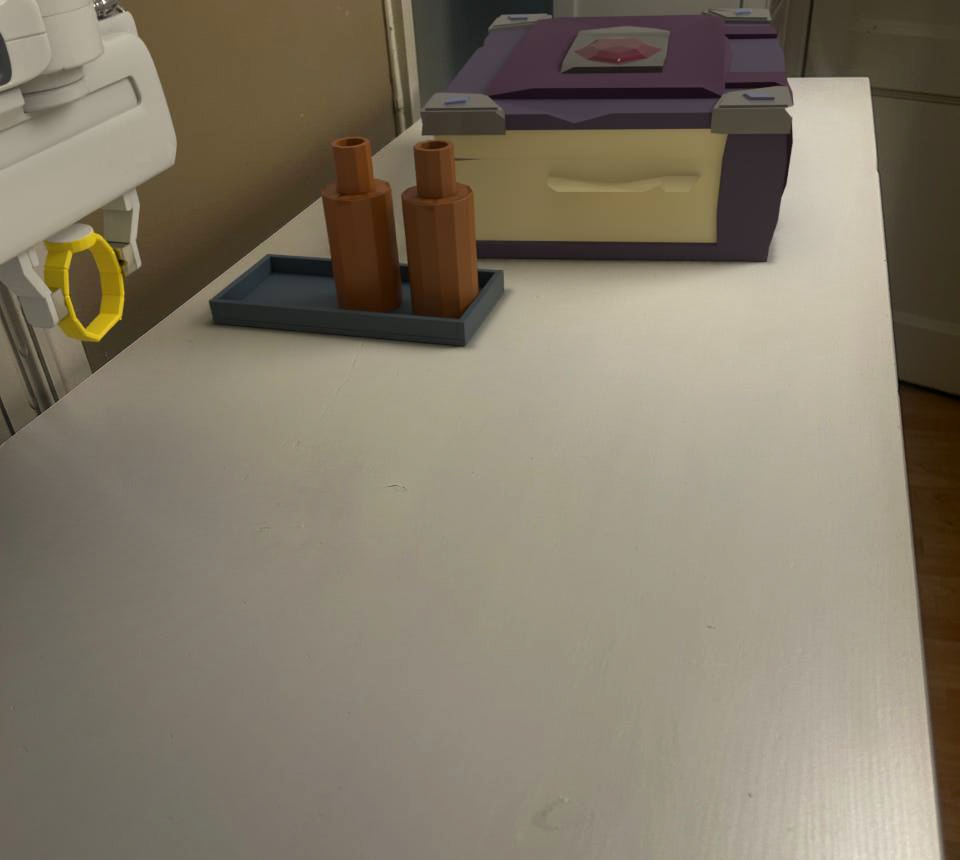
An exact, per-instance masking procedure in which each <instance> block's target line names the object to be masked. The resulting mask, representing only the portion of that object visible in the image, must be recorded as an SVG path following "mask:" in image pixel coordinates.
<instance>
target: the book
mask: <svg viewBox="0 0 960 860" xmlns="http://www.w3.org/2000/svg"><path fill="white" fill-rule="evenodd" d="M772 22H773V21H772V17H771V13H770V9H768V8H767V9H766V8H763V7H762V8H761V7H759V8H757V7H755V8H753V7H747V8H745V7H743V8H741V7H740V8H726V7H725V8H719V7H718V8H716V7H715V8H708V10H701V14H664V15H663V14H662V15H661V14H660V15H658V14H657V15H619V16H618V15H615V16H614V15H613V16H612V15H611V16H609V15H608V16H563V17H562V16H561V17H558V16H557V17H553V15H552V14H548V13H521V14H520V13H519V14H518V13H517V14H515V13H514V14H501V15H500V16H499V17H496V18H495V19H494V21H493V22H492V23H491V25H490V26H489V27H488V29H487V32H488V33H487V36H486V37H485V38H484V40H483V43H482V46H481V47H478V48H477V49H476V50H475V52H473V53H472V55H471V56H470V57H469V59H468V60H467V62H466V63H465V64H464V65H463V66H462V68H461V69H460V70H459V72H458V73H457V74H456V76H455V77H454V78H453V79H452V81H451V82H450V83H449V84H448V86H447V87H446V88H445V89H444V91H443V92H439V91H438V92H436V93H434V94H433V95H432V96H431V97H430V99H429V100H428V101H427V102H426V103H425V104H424V106H423V107H422V108H421V109H420V111H419V114H420V119H421V124H422V125H421V136H426V137H428V136H433V140H439V139H440V140H447V141H451V142H452V143H453V144H454V158H455V174H456V182H457V183H461V184H464V185H468V186H470V188H471V189H472V191H473V196H474V215H475V234H476V254H477V258H481V259H482V258H483V259H484V258H485V259H488V258H489V259H492V258H493V259H558V260H559V259H560V260H561V259H562V260H564V259H565V260H567V259H568V260H569V259H571V260H629V261H630V260H632V261H633V260H635V261H636V260H637V261H638V260H640V261H641V260H643V261H709V262H710V261H711V262H713V261H714V262H716V261H717V262H768V259H769V251H770V246H771V243H772V240H773V237H774V234H775V231H776V228H777V225H778V222H779V218H780V211H781V203H782V198H783V195H784V193H785V190H786V187H787V184H788V177H789V171H790V164H791V157H792V151H793V144H794V135H793V134H794V133H793V132H794V131H793V118H794V105H795V102H794V93H793V92H794V91H793V90H792V87H791V86H790V83H789V80H788V71H786V62H785V53H784V51H783V49H782V46H781V45H780V42H779V41H778V39H777V37H778V32H777V30H776V28H775V26H773V25H772Z"/></svg>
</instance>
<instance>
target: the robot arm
mask: <svg viewBox="0 0 960 860" xmlns="http://www.w3.org/2000/svg"><path fill="white" fill-rule="evenodd" d="M138 33H139V32H138V29H137V25H136V22H135V19H134V17H133V14H132V13H131V12H130V11H127V9H126V8H125V6H124V5H123V4H122V3H121V2H120V1H118V0H0V282H1V283H2V284H3V285H4V286H5V287H6V288H7V289H9V291H10V292H11V293H13V295H14V296H16V297H18V300H19V303H20V306H21V308H22V310H23V313H24V316H25V319H26V322H27V323H28V324H29V325H30V326H32V327H34V328H40V329H47V330H49V329H50V330H51V329H53V328H54V327H56V326H58V325H57V324H59V323H60V322H61V321H63V320H64V319H66V318H67V317H68V315H69V311H68V308H67V307H66V306H65V298H64V295H63V292H62V289H61V288H55V287H47V286H46V285H45V283H44V280H43V279H42V278H41V277H40V275H38V273H37V272H36V271H35V270H34V269H35V268H36V267H39V266H40V261H39V257H38V254H37V251H36V248H35V246H38V245H39V244H40V243H43V241H44V240H45V239H47V238H49V237H51V236H52V235H54V234H56V233H58V232H59V231H61V230H63V229H65V228H66V227H68V226H70V225H71V224H76V223H77V222H78V221H81V220H82V219H84V218H85V217H88V215H90V214H92V213H95V212H96V211H98V210H102V216H103V217H102V219H103V221H102V222H103V238H104V239H105V241H106V242H107V243H108V244H109V245H110V246H111V248H112V249H113V251H114V252H115V255H116V257H117V260H118V263H119V265H120V268H121V273H122V276H123V278H128V277H129V276H130V275H131V274H133V273H134V272H136V271H137V270H138V269H140V268H141V267H142V259H141V255H140V252H139V248H138V244H137V237H138V229H139V228H138V227H139V220H140V208H141V204H140V200H139V196H138V191H137V187H139V186H141V185H142V184H145V183H146V182H148V181H149V180H152V179H153V178H155V177H157V176H159V175H160V174H161V173H163V172H166V171H167V170H169V169H170V168H172V167H173V166H174V165H175V164H176V163H175V162H176V159H177V157H176V156H177V148H178V147H177V146H178V141H177V135H176V131H175V128H174V123H173V120H172V116H171V113H170V109H169V106H168V102H167V98H166V96H165V92H164V89H163V85H162V82H161V80H160V77H159V74H158V70H157V68H156V65H155V62H154V59H153V58H152V54H151V53H150V51H149V49H148V47H147V45H146V44H145V42H144V41H143V40H142V38H141V37H139V34H138Z"/></svg>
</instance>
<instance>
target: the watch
mask: <svg viewBox="0 0 960 860" xmlns="http://www.w3.org/2000/svg"><path fill="white" fill-rule="evenodd" d="M42 243H43V245H44V248H45V249H46V251H47V254H46V258H45V262H44V264H43V265H44V266H43V268H44V269H43V282H44V283H45V285H46V286H47V287H55V288H61V289H62V292H63V295H64V298H65V306H66V307H67V308H68V311H69V315H68V317H67V318H66V319H64V320H63V321H61V322H60V323H59V324H57V325H56V326H58V327H59V329H60V330H61V331H62V332H63V334H64V335H65V336H67V337H68V338H71V339H73V340H76V341H80V342H90V343H91V342H93V343H99V342H100V341H101V340H102V339H103V338H104V336H106V335H107V333H108V332H109V331H110V330H111V329H112V328H113V327H114V326H115V325H116V324H117V323H118V322H119V321H122V319H123V318H122V317H123V310H124V305H125V287H124V286H125V285H124V277H123V276H122V273H121V268H120V265H119V263H118V260H117V257H116V255H115V252H114V251H113V249H112V248H111V246H110V245H109V244H108V243H107V242H106V241H105V239H104V236H102V235H100V234H99V233H96V232H95V231H94V228H93V227H92V226H91V225H89V224H86V223H80V222H79V223H77V222H76V223H73V224H71V225H70V226H68V227H66V228H65V229H63V230H61V231H59V232H58V233H56V234H54V235H52V236H51V237H49V238H47V239H45V240H44V241H42ZM85 250H89V251H90V252H91V254H92V257H93V260H94V261H95V264H96V267H97V269H98V273H99V278H100V287H101V294H102V295H101V299H100V300H101V301H100V307H99V314H98V315H97V316H96V317H95V318H94V319H93V320H92V321H91V322H90V323H89V324H88V325H87V326H86V328H85V327H84V326H83V324H82V322H80V320H79V319H78V318H77V316H76V312H75V309H74V306H73V302H72V300H71V296H70V281H69V280H70V278H69V270H70V266H71V261H72V258H73V254H76V253H80V252H83V251H85Z"/></svg>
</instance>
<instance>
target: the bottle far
mask: <svg viewBox="0 0 960 860" xmlns="http://www.w3.org/2000/svg"><path fill="white" fill-rule="evenodd" d="M412 150H413V160H414V173H415V183H416V185H414V186H410V187H407V188H406V189H405V190H404V191H403V192H402V193H401V194H400V200H401V211H402V219H403V230H404V240H405V250H406V260H407V261H406V262H407V264H408V272H409V282H410V292H411V302H412V310H413V313H414V315H415V316H426V317H438V318H450V319H460V318H461V317H462V315H463V314H464V313H465V311H466V310H467V309H468V307H469V306H470V305H471V304H472V302H473V301H474V300H475V298H476V297H477V296H478V294H479V292H478V273H477V268H478V257H477V254H476V234H475V215H474V196H473V191H472V189H471V188H470V186H468V185H464V184H461V183H457V182H456V174H455V158H454V144H453V143H452V142H451V141H447V140H440V139H439V140H435V139H427V140H423V141H418V142H417V143H415V144H414V145H413V147H412Z"/></svg>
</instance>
